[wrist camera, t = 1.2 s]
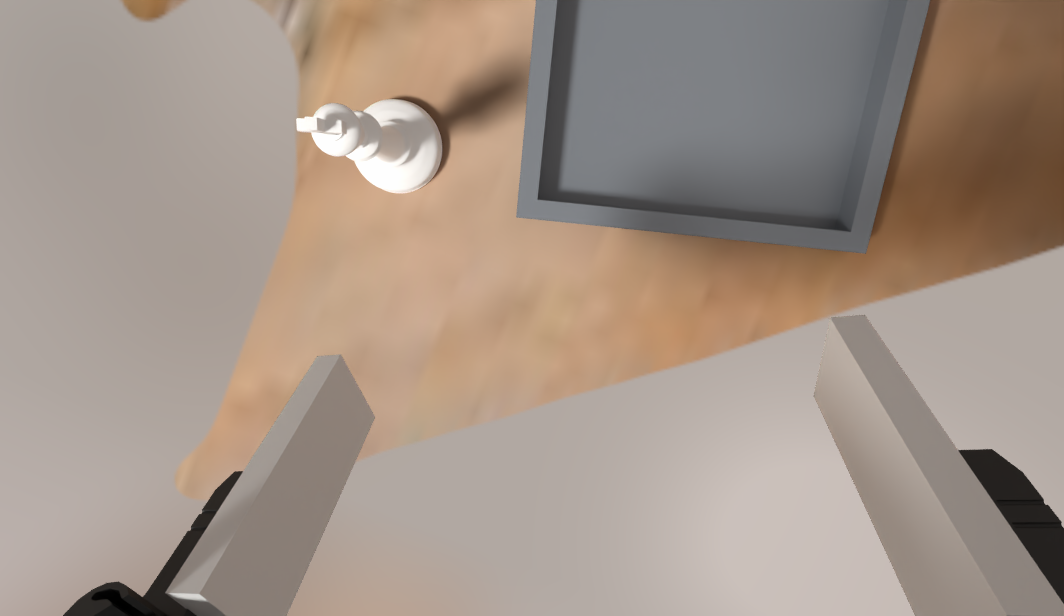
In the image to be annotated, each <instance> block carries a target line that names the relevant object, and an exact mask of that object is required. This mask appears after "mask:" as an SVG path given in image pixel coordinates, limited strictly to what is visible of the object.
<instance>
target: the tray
mask: <svg viewBox="0 0 1064 616" xmlns="http://www.w3.org/2000/svg"><path fill="white" fill-rule="evenodd" d="M929 3H930V0H536V7H535V18H534V29H533V40H532V51H531V62H530V73H529V84H528V95H527V106H526V117H525V128H524V139H523V150H522V161H521V172H520V183H519V194H518V205H517V216H516V217H518V218H528V219H538V220H547V221H557V222H567V223H576V224H586V225H595V226H605V227H615V228H624V229H634V230H644V231H653V232H663V233H673V234H682V235H692V236H702V237H711V238H721V239H730V240H740V241H750V242H759V243H769V244H779V245H788V246H798V247H808V248H817V249H827V250H837V251H846V252H856V253H865V254H866V251H867V247H868V243H869V240H870V236H871V232H872V228H873V224H874V220H875V216H876V212H877V208H878V204H879V200H880V196H881V192H882V188H883V184H884V180H885V176H886V173H887V169H888V165H889V161H890V157H891V153H892V149H893V145H894V141H895V137H896V133H897V129H898V125H899V121H900V117H901V113H902V109H903V106H904V102H905V98H906V94H907V90H908V86H909V82H910V78H911V74H912V70H913V66H914V62H915V58H916V54H917V50H918V46H919V42H920V39H921V35H922V31H923V27H924V23H925V19H926V15H927V11H928V7H929Z"/></svg>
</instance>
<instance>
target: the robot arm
mask: <svg viewBox="0 0 1064 616" xmlns="http://www.w3.org/2000/svg"><path fill="white" fill-rule="evenodd" d="M814 397H815V400H816V402H817V404H818V406H819V408H820V410H821V413H822V415H823V417H824V419H825V421H826V423H827V426H828V428H829V430H830V432H831V434H832V436H833V439H834V441H835V443H836V445H837V447H838V449H839V451H840V454H841V456H842V458H843V460H844V462H845V465H846V467H847V469H848V471H849V473H850V476H851V478H852V480H853V482H854V484H855V486H856V488H857V491H858V493H859V495H860V497H861V499H862V502H863V503H864V506H865V508H866V510H867V512H868V514H869V517H870V519H871V521H872V523H873V525H874V527H875V530H876V532H877V534H878V536H879V538H880V541H881V543H882V545H883V547H884V549H885V551H886V554H887V555H888V558H889V560H890V562H891V564H892V566H893V569H894V570H895V573H896V575H897V577H898V579H899V582H900V584H901V586H902V588H903V590H904V592H905V595H906V597H907V599H908V601H909V603H910V606H911V608H912V610H913V612H914V614H915V616H1064V528H1063V527H1062V525H1061V521H1060V520H1059V518H1058V517H1057V516H1056V515H1055V514H1054V512H1053V511H1052V509H1051V508H1050V507H1049V506H1048V505H1045V504H1044V500H1043V498H1042V497H1041V495H1040V494H1039V493H1038V492H1037V490H1036V489H1035V488H1034V486H1033V485H1032V484H1031V482H1030V481H1029V480H1028V479H1027V477H1026V476H1025V475H1024V473H1023V472H1022V471H1020V470H1019V469H1018V468H1016V467H1015V466H1014V465H1012V464H1011V463H1010V462H1008V461H1007V460H1006V459H1004V458H1003V457H1002V456H1000V455H999V454H998V453H996V452H995V451H994V450H992V449H986V450H985V449H983V450H957V448H956V447H955V445H954V444H953V442H952V441H951V440H950V438H949V436H948V435H947V434H946V432H945V431H944V429H943V428H942V426H941V425H940V423H939V422H938V421H937V419H936V418H935V416H934V415H933V413H932V412H931V410H930V409H929V407H928V406H927V405H926V403H925V402H924V400H923V399H922V397H921V396H920V394H919V393H918V391H917V390H916V388H915V387H914V386H913V384H912V383H911V381H910V380H909V378H908V377H907V375H906V374H905V372H904V371H903V370H902V368H901V367H900V365H899V364H898V362H897V361H896V359H895V358H894V357H893V355H892V354H891V353H890V351H889V349H888V348H887V347H886V345H885V343H884V342H883V341H882V339H881V338H880V336H879V335H878V333H877V332H876V330H875V329H874V328H873V326H872V324H871V323H870V322H869V320H868V319H867V317H866V316H865V315H859V316H844V317H831V318H830V321H829V325H828V331H827V335H826V340H825V345H824V349H823V354H822V359H821V364H820V369H819V373H818V378H817V383H816V387H815V392H814ZM374 419H375V416H374V414H373V412H372V410H371V409H370V407H369V405H368V403H367V401H366V400H365V398H364V396H363V394H362V392H361V390H360V389H359V387H358V385H357V383H356V381H355V379H354V378H353V376H352V374H351V372H350V370H349V369H348V367H347V365H346V363H345V361H344V359H343V358H342V356H341V355H328V356H317V358H316V359H315V361H314V362H313V364H312V365H311V367H310V368H309V370H308V372H307V373H306V375H305V376H304V378H303V379H302V381H301V382H300V384H299V386H298V387H297V389H296V390H295V392H294V393H293V395H292V396H291V398H290V400H289V401H288V403H287V404H286V406H285V407H284V409H283V410H282V412H281V414H280V415H279V417H278V418H277V420H276V421H275V423H274V424H273V426H272V428H271V429H270V431H269V432H268V434H267V435H266V437H265V438H264V440H263V441H262V443H261V445H260V446H259V448H258V449H257V451H256V452H255V454H254V455H253V457H252V459H251V460H250V462H249V463H248V465H247V466H246V468H245V469H244V471H238V472H234V473H233V474H232V475H231V476H230V477H228V478H227V479H226V480H225V481H224V482H223V483H222V484H221V485H220V486H219V487H218V488H217V489H216V490H215V491H214V493H213V494H212V496H211V497H210V499H209V500H208V502H207V503H206V505H205V506H204V508H203V509H202V514H199V515H198V517H197V518H196V520H195V521H194V523H193V524H192V526H191V530H190V531H188V532H187V533H186V535H185V536H184V538H183V539H182V541H181V542H180V544H179V545H178V547H177V548H176V550H175V551H174V553H173V554H172V556H171V557H170V559H169V560H168V562H167V563H166V565H165V566H164V568H163V569H162V570H161V572H160V574H159V575H158V576H157V578H156V580H155V581H154V583H153V584H152V585H151V587H150V588H149V590H148V591H147V593H146V594H145V595H144V596H143V597H141V596H140V595H138V594H137V593H136V592H134V591H133V590H132V589H130V588H129V587H127V586H126V585H124V584H122V583H120V582H111V583H106V584H104V585H102V586H99V587H97V588H95V589H93V590H91V591H90V592H88V593H87V594H86V595H84V596H83V597H81V598H80V599H79V600H78V601H77V602H76V603H75V604H74V605H73V606H72V607H71V608H70V609H69V610H68V611H67V612H66V613H65V614H64V615H63V616H287V613H288V611H289V609H290V607H291V604H292V602H293V600H294V598H295V596H296V593H297V591H298V589H299V587H300V584H301V582H302V580H303V578H304V575H305V573H306V571H307V569H308V566H309V564H310V562H311V560H312V557H313V555H314V553H315V551H316V548H317V546H318V544H319V542H320V540H321V537H322V535H323V533H324V531H325V528H326V526H327V524H328V522H329V519H330V517H331V515H332V513H333V510H334V508H335V506H336V504H337V501H338V499H339V497H340V495H341V492H342V490H343V488H344V486H345V484H346V481H347V479H348V477H349V475H350V472H351V470H352V468H353V466H354V463H355V461H356V459H357V457H358V454H359V452H360V450H361V448H362V446H363V443H364V441H365V439H366V437H367V434H368V432H369V430H370V428H371V425H372V423H373V421H374Z"/></svg>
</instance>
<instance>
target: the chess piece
mask: <svg viewBox="0 0 1064 616" xmlns="http://www.w3.org/2000/svg"><path fill="white" fill-rule="evenodd" d="M296 119H297V131H301V132H311V133H312V137H313V139H314V141H315V143H316V145H317V146H318V147H319V148H320V149H321V150H322V151H323V152H325V153H327V154H329V155H332V156H347V157H348V158H350V159H352V160H354V161H355V163H356V165H357V167H358V169H359V171H360V172H361V173H362V175H363V176H364V177H365V178H366V179H367V180H368V181H369V182H371V183H372V184H373V185H375V186H377V187H379V188H381V189H383V190H385V191H388V192H392V193H409V192H412V191H415V190H418V189H420V188H421V187H423V186H424V185H426V184H427V183H428V182H429V181H430V180H431V179H432V178H433V177H434V175H435V174H436V172H437V170H438V168H439V165H440V162H441V158H442V140H441V136H440V132H439V130H438V127H437V125H436V124H435V122H434V120H433V119H432V118H431V116H430V115H429V114H428V113H427V112H426V111H425V110H423V109H422V108H421V107H419V106H418V105H416V104H414V103H412V102H409V101H405V100H399V99H387V100H382V101H379V102H376V103H374V104H372V105H370V106H369V107H368V108H366V109H365V110H364V111H352V110H351V109H350V108H348V107H347V106H345V105H342V104H338V103H330V104H326V105H324V106H322V107H320V108H319V109H318V110H317V111H316V113H315V114H314V116H313V117H305V119H301V118H296Z"/></svg>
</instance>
